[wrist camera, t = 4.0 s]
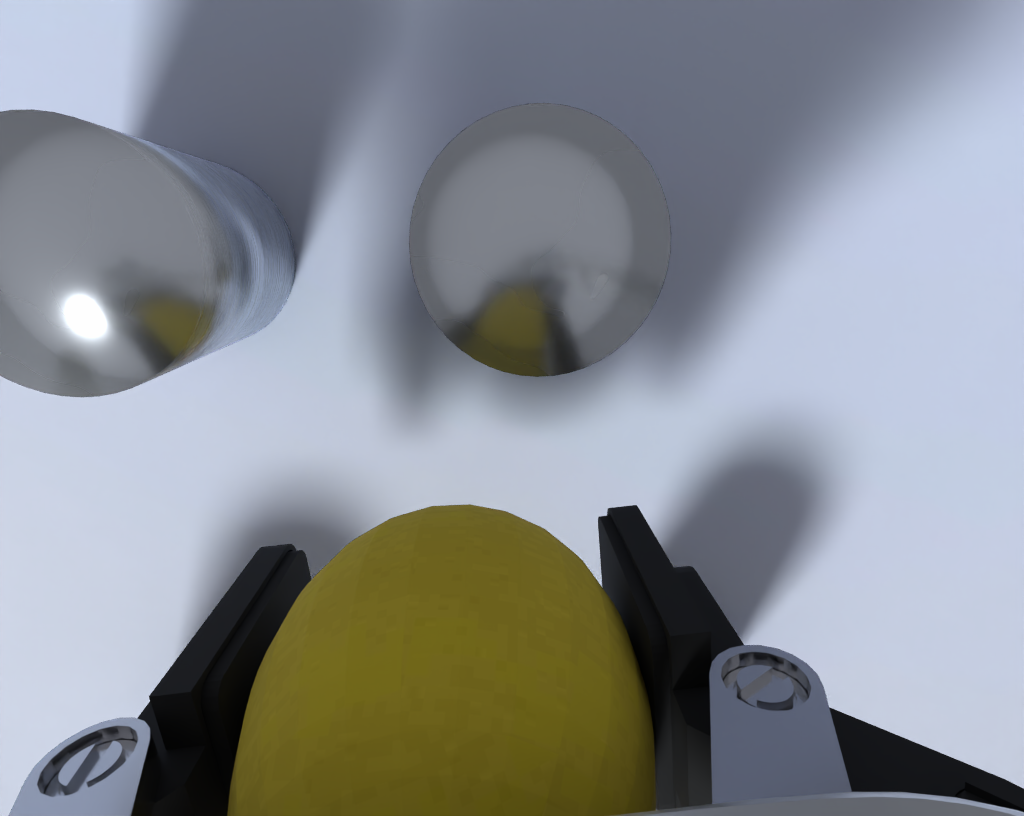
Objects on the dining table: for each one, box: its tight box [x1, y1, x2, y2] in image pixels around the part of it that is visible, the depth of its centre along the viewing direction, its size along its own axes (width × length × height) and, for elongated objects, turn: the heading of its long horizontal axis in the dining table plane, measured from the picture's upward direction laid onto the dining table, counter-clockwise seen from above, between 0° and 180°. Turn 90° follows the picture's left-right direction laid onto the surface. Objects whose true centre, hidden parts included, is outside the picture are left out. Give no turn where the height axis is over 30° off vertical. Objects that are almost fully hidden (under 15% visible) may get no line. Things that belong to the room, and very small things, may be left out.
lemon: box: [227, 505, 656, 816], centre depth 9 cm, size 6×6×8 cm
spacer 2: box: [409, 103, 671, 377], centre depth 11 cm, size 4×4×5 cm
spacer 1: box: [0, 110, 295, 397], centre depth 11 cm, size 4×4×5 cm
